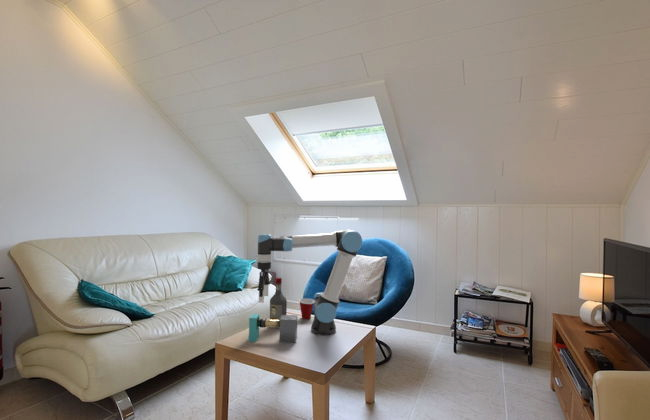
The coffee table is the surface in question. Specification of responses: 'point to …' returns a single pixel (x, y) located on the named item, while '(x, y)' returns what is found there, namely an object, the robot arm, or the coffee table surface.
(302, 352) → the coffee table surface
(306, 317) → the plastic cup
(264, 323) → the brass tube
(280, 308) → the liquor
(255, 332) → the socket
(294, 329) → the grey matte cuboid
